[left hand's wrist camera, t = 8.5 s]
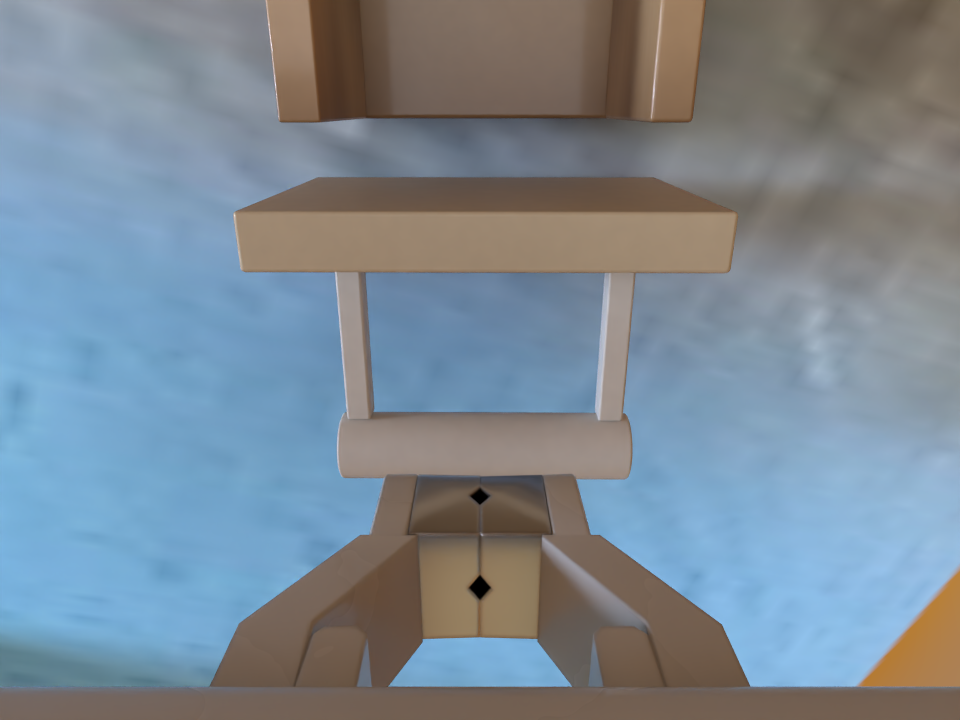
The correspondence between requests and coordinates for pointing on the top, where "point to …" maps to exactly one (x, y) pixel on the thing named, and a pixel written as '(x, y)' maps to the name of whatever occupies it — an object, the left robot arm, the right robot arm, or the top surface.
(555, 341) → the top surface
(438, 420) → the drawer
